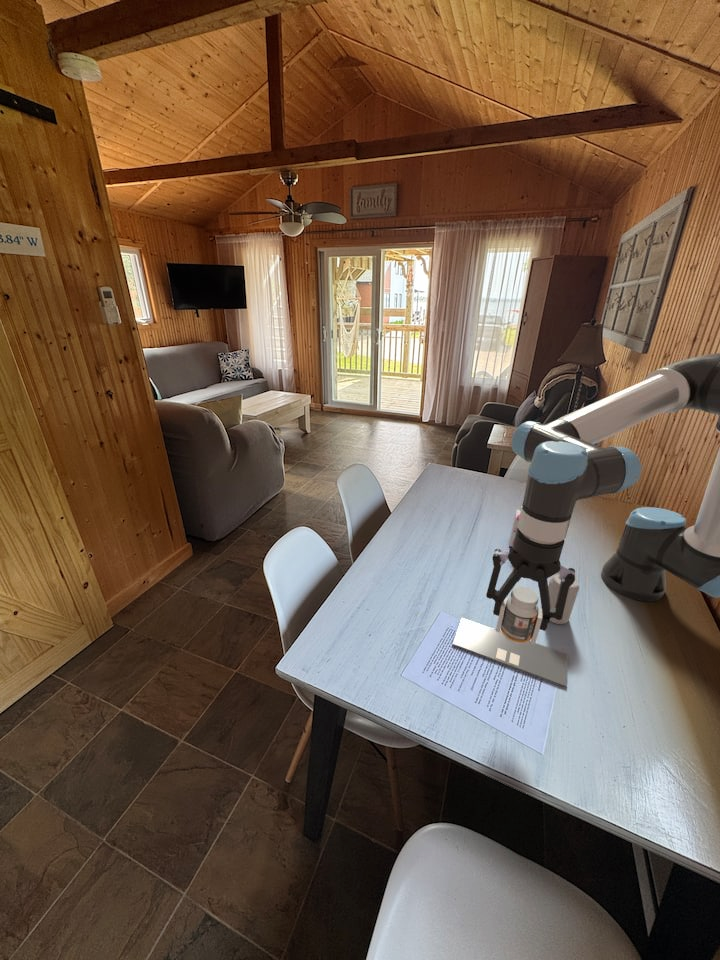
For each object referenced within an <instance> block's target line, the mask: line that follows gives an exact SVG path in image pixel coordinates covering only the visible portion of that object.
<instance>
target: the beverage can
mask: <svg viewBox="0 0 720 960" xmlns="http://www.w3.org/2000/svg"><path fill="white" fill-rule="evenodd" d="M560 583H561V580H560V578H559V573H556V574H554V575H553V576H551V577H550V579H549V582H548V589H549V597H550V605H551V607H555V606H556V601H557V596H558V592H559V587H560ZM579 590H580V585H579V580H578V579H577V577H575V581H574V582H573V583H572V585H571V586H570V587H569V590H568V594H567V599H566V603H565V607H564V612H563V616H562V619H561V620H557V619H555V618H550V621H549V622H551V623H554V624H557V625H558V624H559V625H562V624H563V625H564V624H567V623H568V622H569V620H570V618H571V615H572V612H573V609H574V605H575V603H576V600H577V596H578V594H579Z"/></svg>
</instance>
